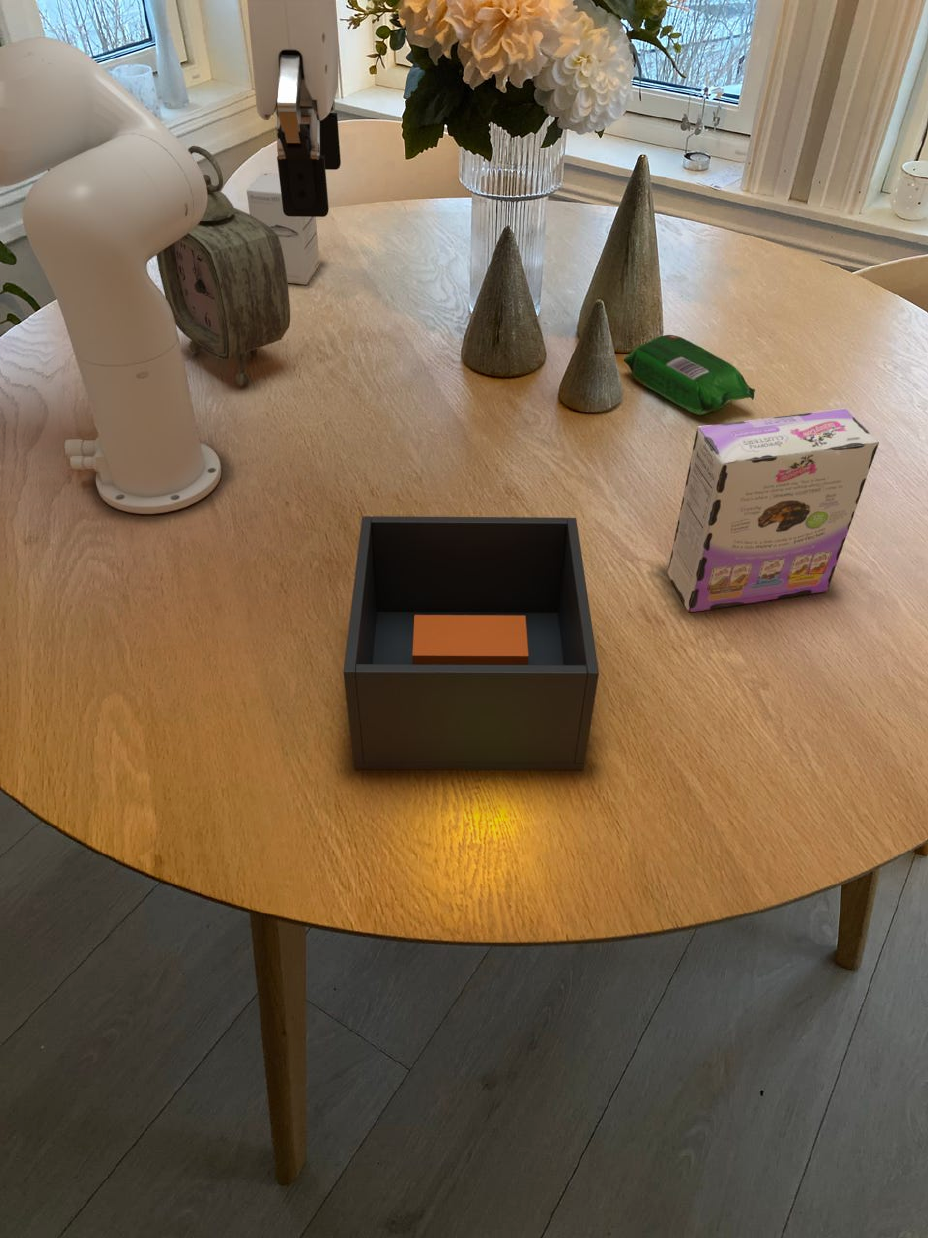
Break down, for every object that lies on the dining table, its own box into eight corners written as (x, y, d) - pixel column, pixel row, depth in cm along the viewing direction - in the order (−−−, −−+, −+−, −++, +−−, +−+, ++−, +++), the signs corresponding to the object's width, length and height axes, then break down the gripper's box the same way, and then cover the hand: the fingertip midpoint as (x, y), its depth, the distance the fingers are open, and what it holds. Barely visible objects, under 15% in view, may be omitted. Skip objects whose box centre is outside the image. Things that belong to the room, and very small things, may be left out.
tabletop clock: (176, 352, 120) (131, 138, 103) (238, 330, 125) (204, 122, 107) (239, 397, 112) (202, 175, 95) (302, 372, 117) (278, 155, 100)
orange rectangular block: (413, 698, 77) (412, 655, 74) (415, 657, 81) (414, 614, 77) (525, 699, 77) (528, 656, 74) (522, 658, 81) (525, 615, 77)
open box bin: (353, 769, 73) (343, 672, 66) (369, 612, 86) (362, 515, 78) (583, 770, 73) (599, 673, 66) (565, 613, 86) (576, 517, 79)
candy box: (799, 554, 93) (847, 404, 81) (828, 594, 88) (884, 441, 77) (664, 573, 90) (695, 421, 79) (688, 614, 86) (724, 461, 75)
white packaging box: (256, 281, 135) (243, 189, 127) (272, 260, 141) (261, 170, 132) (307, 286, 134) (297, 193, 126) (321, 264, 140) (313, 174, 131)
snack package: (709, 434, 108) (719, 393, 104) (616, 375, 117) (622, 336, 113) (753, 416, 111) (763, 375, 107) (658, 360, 120) (665, 321, 117)
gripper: (250, -108, 67) (279, 152, 79) (202, -67, 54) (245, 235, 66) (357, -107, 67) (371, 153, 79) (334, -65, 55) (354, 236, 66)
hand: (313, 190), depth 73 cm, fingers open, 9 cm apart
